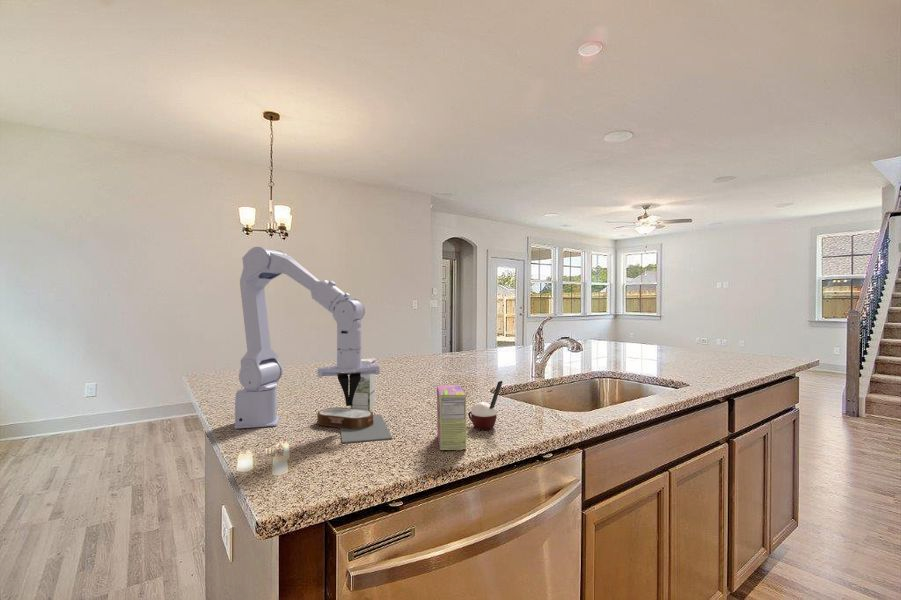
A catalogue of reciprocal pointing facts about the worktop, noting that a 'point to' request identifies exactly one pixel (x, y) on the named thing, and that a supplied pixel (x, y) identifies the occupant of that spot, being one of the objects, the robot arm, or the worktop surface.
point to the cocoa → (485, 412)
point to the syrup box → (365, 389)
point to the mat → (367, 432)
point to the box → (451, 417)
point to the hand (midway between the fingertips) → (348, 404)
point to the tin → (345, 418)
